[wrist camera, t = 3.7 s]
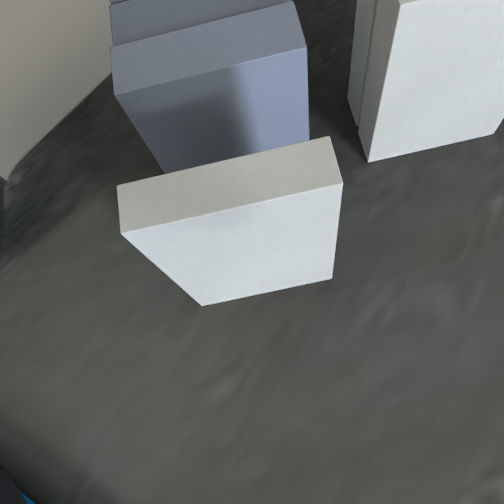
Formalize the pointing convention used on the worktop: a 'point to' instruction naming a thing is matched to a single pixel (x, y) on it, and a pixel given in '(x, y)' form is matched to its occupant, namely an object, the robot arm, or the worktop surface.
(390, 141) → the white books
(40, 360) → the worktop surface
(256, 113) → the grey books
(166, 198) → the thin white book
